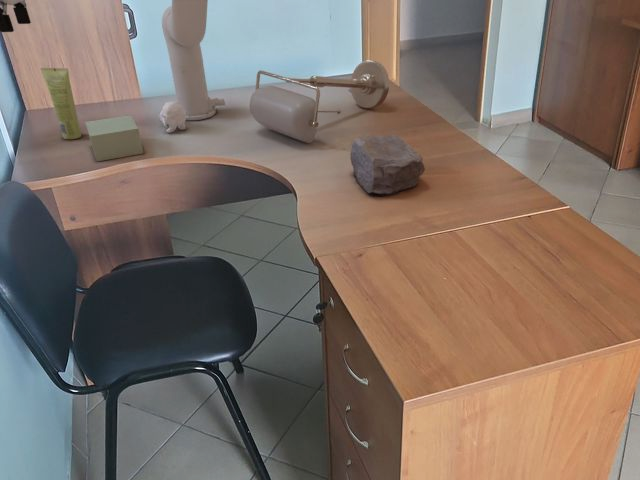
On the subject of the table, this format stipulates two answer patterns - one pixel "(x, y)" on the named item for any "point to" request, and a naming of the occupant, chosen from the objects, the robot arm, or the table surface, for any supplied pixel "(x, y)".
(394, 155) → the stone block
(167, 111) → the white irregular rounded piece
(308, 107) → the lamp
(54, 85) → the tube
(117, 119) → the block
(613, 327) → the table surface
